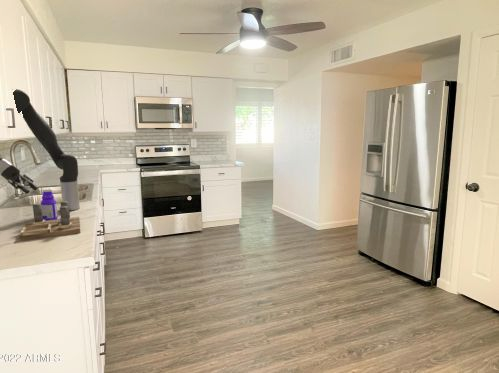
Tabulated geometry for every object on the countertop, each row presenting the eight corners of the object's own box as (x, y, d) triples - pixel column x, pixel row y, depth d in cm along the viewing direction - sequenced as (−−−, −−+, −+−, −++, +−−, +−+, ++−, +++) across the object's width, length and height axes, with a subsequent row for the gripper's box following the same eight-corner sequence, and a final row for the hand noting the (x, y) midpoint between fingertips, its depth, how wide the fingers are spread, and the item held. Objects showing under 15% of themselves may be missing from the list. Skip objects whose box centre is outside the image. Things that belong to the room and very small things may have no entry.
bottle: (60, 219, 185) (56, 187, 182) (54, 222, 179) (50, 189, 176) (46, 219, 185) (42, 188, 182) (40, 222, 179) (36, 190, 176)
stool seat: (26, 226, 171) (24, 203, 169) (79, 220, 182) (77, 198, 180) (20, 240, 150) (17, 214, 148) (80, 232, 161) (78, 208, 159)
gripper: (3, 166, 169) (30, 188, 172) (19, 163, 182) (44, 183, 186) (-7, 177, 169) (20, 198, 172) (9, 173, 183) (34, 193, 186)
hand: (32, 190), depth 179 cm, fingers open, 8 cm apart
